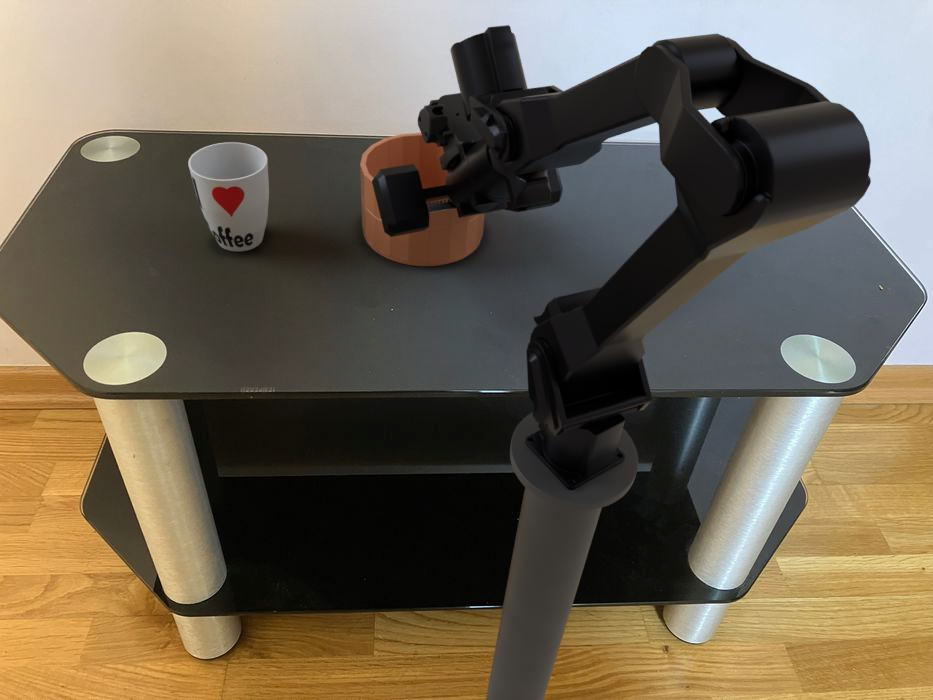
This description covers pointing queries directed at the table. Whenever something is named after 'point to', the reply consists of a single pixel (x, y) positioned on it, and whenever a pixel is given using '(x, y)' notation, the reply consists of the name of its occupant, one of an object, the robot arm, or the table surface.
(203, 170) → the cup
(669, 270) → the robot arm
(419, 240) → the bowl
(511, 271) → the table surface
